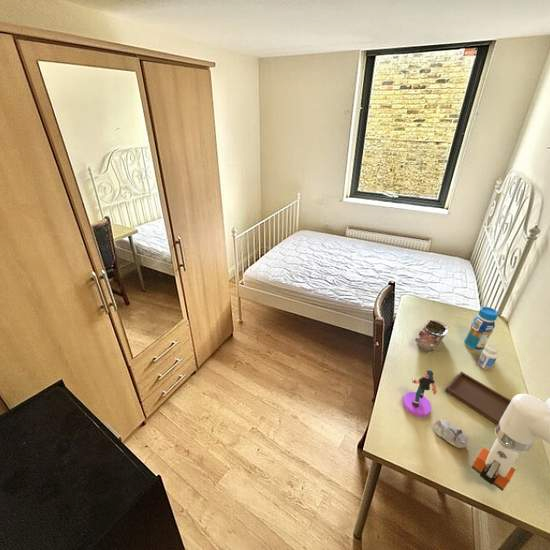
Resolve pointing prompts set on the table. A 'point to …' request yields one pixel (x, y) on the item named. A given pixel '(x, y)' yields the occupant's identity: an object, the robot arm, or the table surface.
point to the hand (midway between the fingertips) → (489, 473)
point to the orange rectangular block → (480, 465)
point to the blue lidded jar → (481, 329)
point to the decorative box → (431, 335)
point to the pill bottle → (488, 357)
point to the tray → (478, 397)
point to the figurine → (420, 396)
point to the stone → (450, 433)
